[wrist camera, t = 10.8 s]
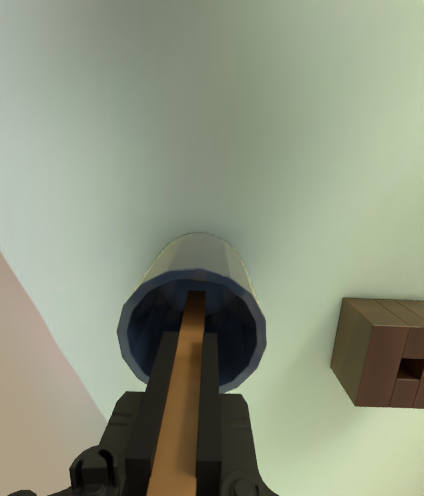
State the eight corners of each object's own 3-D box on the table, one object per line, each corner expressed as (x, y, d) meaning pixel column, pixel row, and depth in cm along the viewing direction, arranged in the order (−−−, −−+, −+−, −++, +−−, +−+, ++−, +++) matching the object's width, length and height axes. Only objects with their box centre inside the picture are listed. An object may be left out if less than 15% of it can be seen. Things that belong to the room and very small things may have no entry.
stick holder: (424, 300, 26) (473, 328, 21) (404, 369, 28) (445, 409, 23) (342, 297, 26) (373, 325, 21) (329, 367, 28) (354, 406, 23)
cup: (219, 215, 24) (224, 241, 14) (260, 294, 26) (289, 365, 16) (136, 258, 25) (88, 310, 15) (182, 331, 27) (165, 418, 17)
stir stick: (205, 290, 21) (189, 620, 5) (205, 306, 21) (188, 659, 6) (188, 289, 21) (120, 618, 5) (187, 306, 21) (123, 658, 6)
